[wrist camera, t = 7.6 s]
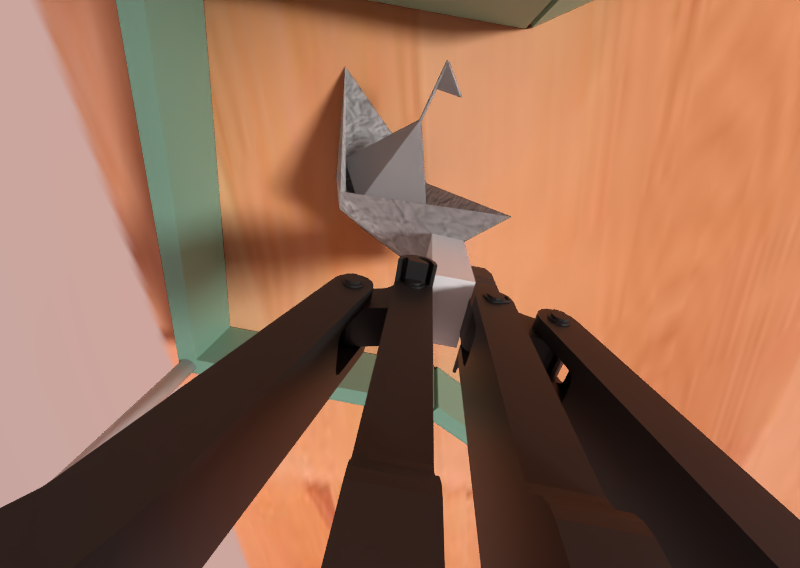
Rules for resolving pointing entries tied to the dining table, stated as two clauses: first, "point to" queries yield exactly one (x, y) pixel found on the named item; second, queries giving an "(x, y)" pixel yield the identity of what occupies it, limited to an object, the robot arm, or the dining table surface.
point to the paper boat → (398, 179)
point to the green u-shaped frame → (199, 191)
